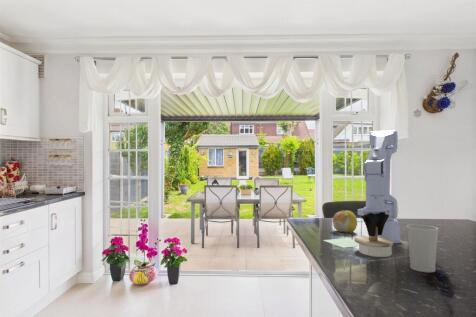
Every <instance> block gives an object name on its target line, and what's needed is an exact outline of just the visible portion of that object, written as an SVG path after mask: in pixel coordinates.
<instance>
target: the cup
mask: <svg viewBox="0 0 476 317" xmlns="http://www.w3.org/2000/svg"><path fill="white" fill-rule="evenodd" d="M406 232H407V237H408V238H407V239H408V252H409V262H410V263H409V264H410V265H409V267H410V269H412V270H414V271H417V272H422V273H435V272H436V259H437V248H438V247H437V246H438V240H439V239H438V237H439V228H438V227H436V226H433V225H426V224H407V225H406Z"/></svg>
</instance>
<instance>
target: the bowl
mask: <svg viewBox="0 0 476 317" xmlns="http://www.w3.org/2000/svg"><path fill="white" fill-rule="evenodd" d="M392 246H393V245H392ZM392 246H390V247H372V246H366V245H362V244H359V246H358V252H359V253H360V254H362V255H364V256H370V257H375V258H376V257H377V258H385V257H386V258H387V257H391V256H393V254H392V253H393V252H392V251H393V250H392V249H393V248H392Z"/></svg>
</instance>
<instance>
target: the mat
mask: <svg viewBox="0 0 476 317" xmlns="http://www.w3.org/2000/svg"><path fill="white" fill-rule="evenodd" d="M322 241H323V242H326V243H329V244H331V245H334V246H337V247H339V248H343V249H344V248H345V249H346V248H352V247H353V248H355V247H359V243H357V242H355V241H354V239H351V238H349V237H344V238H333V239H324V240H322Z"/></svg>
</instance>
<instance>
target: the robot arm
mask: <svg viewBox="0 0 476 317" xmlns="http://www.w3.org/2000/svg"><path fill="white" fill-rule="evenodd" d="M398 137H399V136H398V130H396V129H393V130H392V129H391V130H390V129H389V130H375V131H374V130H371V131H370V133H369V145H370V149H371V150H370V151H369V154H368V157H367V160H366V161H364V162H363V175H364V182H365V206H364V207H363V208H358V209H357V215H358V216H360V217H361V218H362V220H363V222H364V225H365V228H366V231H367V234H368V235H367V236H375V233H376V227H378V237H382V238H386V239H389V240H391V241H392V242H393V244H398V243H399V244H400V243H402V242H403V241H402V240H401V225H400V222H399V221H398V220H397V219H398V213H399V210H398V209H399V208H398V201H397V199H396V197H394V196H393V195H391V192H390V191H391V189H390V188H391V159H392V156H393V154H395V153H397V150H398Z"/></svg>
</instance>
